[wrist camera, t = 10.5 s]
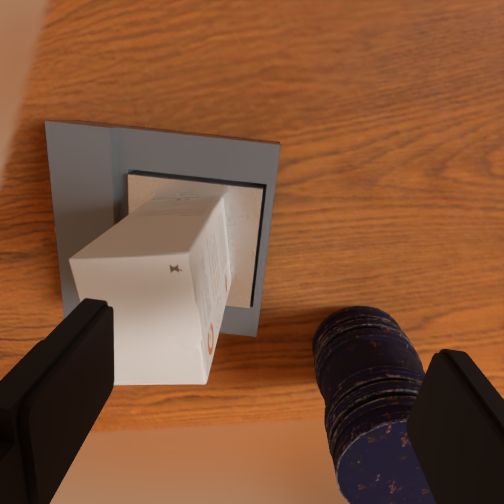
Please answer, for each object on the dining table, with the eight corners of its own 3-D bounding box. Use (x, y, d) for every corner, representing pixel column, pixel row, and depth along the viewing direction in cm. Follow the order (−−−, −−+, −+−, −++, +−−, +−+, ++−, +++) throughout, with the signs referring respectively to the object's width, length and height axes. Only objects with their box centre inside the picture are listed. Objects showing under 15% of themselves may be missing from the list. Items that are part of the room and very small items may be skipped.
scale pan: (140, 169, 32) (127, 174, 29) (263, 182, 32) (263, 189, 29) (141, 281, 36) (130, 295, 33) (251, 293, 36) (249, 308, 33)
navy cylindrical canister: (306, 379, 41) (326, 516, 27) (315, 302, 37) (343, 413, 23) (395, 384, 40) (462, 526, 26) (412, 307, 37) (499, 424, 23)
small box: (148, 198, 30) (63, 255, 18) (224, 194, 29) (192, 250, 17) (162, 286, 33) (99, 389, 20) (232, 284, 32) (209, 386, 20)
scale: (71, 119, 32) (38, 120, 27) (279, 141, 32) (281, 146, 27) (85, 298, 38) (59, 324, 34) (257, 318, 38) (256, 346, 33)
